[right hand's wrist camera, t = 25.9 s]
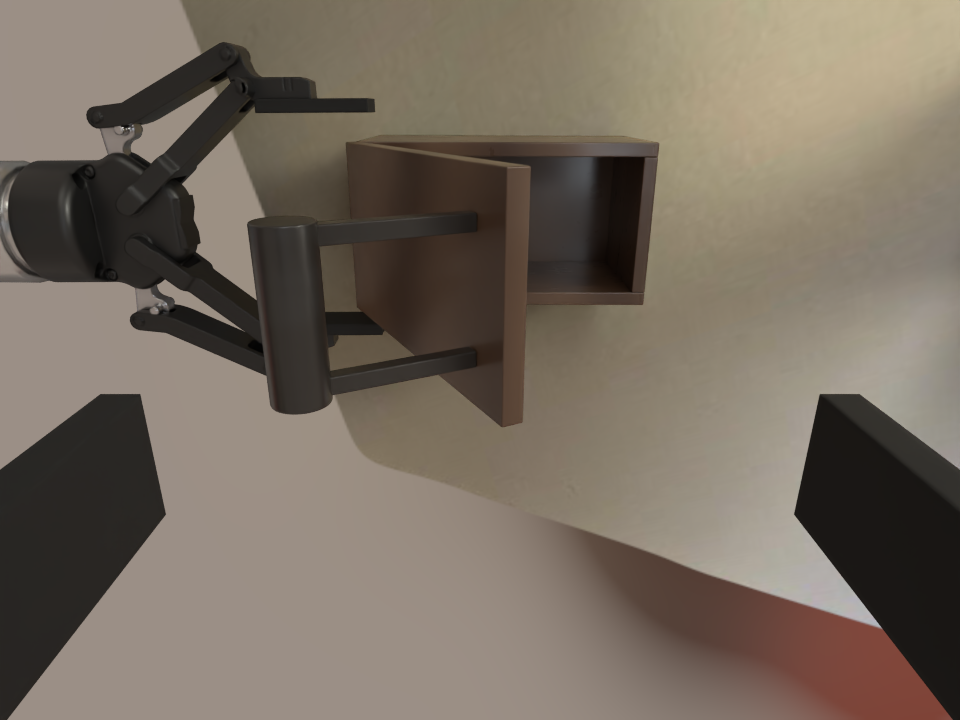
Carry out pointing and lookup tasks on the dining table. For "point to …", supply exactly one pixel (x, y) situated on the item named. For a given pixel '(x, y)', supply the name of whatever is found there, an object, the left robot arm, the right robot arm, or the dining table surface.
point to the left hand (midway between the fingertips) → (379, 220)
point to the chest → (573, 209)
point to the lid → (405, 280)
